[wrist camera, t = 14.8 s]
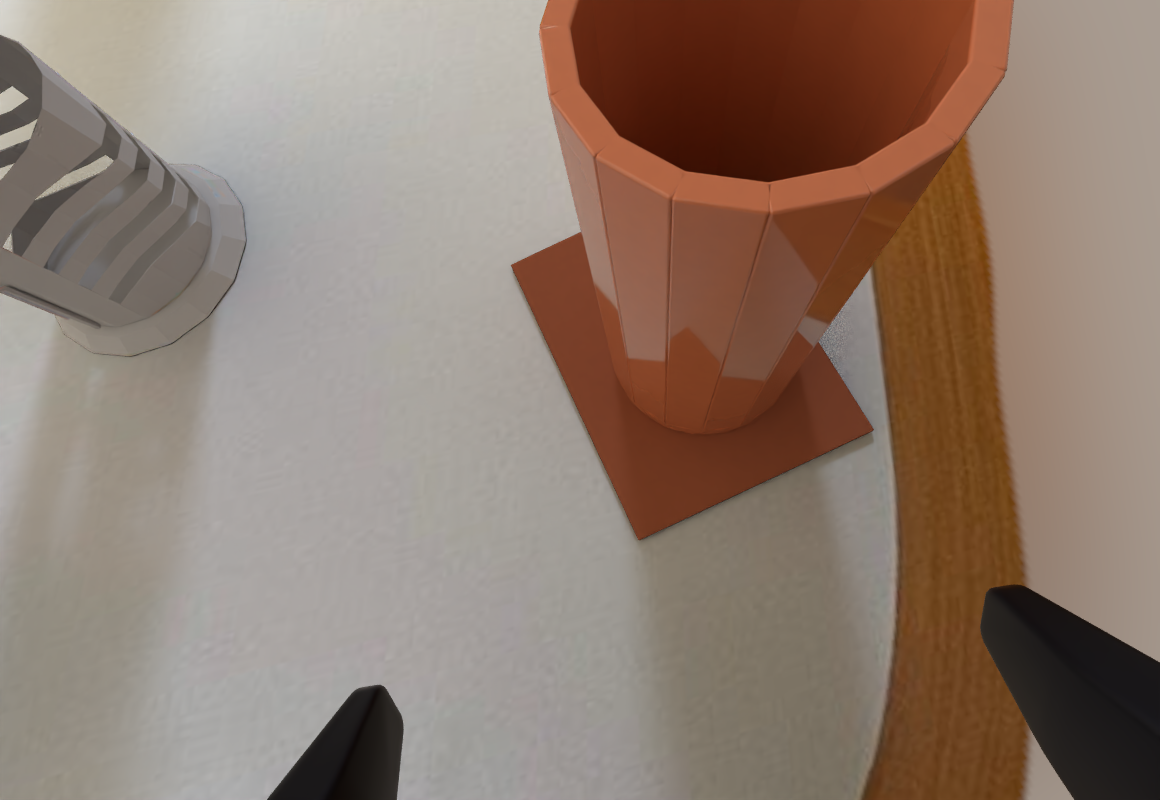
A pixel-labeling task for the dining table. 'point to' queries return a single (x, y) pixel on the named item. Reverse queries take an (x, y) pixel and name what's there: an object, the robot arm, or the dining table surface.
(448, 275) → the dining table surface
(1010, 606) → the robot arm
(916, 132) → the terracotta tumbler
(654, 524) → the clay pad
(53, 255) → the french press
